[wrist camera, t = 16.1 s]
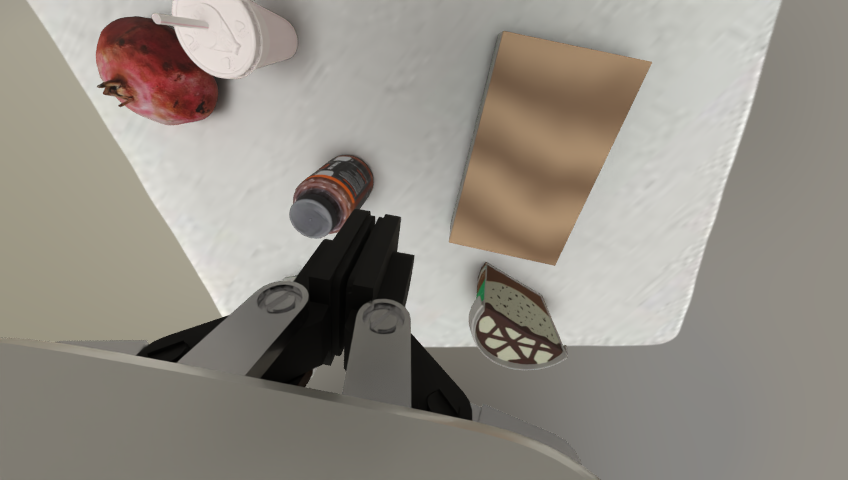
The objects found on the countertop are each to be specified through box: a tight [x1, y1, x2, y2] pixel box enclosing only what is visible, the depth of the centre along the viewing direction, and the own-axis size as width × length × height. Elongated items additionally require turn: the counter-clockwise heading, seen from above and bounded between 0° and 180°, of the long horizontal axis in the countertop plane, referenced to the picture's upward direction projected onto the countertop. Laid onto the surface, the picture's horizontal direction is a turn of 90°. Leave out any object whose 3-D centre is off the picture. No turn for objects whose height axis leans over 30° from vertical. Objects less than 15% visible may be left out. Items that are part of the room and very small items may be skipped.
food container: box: [469, 262, 568, 370], centre depth 40 cm, size 12×6×10 cm, turn 59°
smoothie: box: [152, 0, 298, 79], centre depth 26 cm, size 6×6×14 cm
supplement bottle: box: [289, 155, 373, 239], centre depth 33 cm, size 6×6×11 cm
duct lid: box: [449, 31, 652, 266], centre depth 31 cm, size 20×12×1 cm, turn 170°
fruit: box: [96, 16, 218, 125], centre depth 30 cm, size 9×10×10 cm
